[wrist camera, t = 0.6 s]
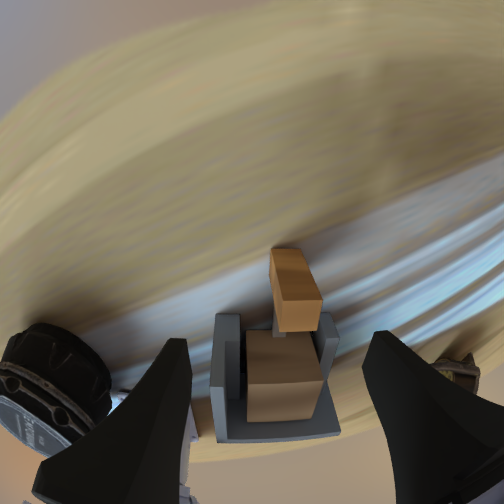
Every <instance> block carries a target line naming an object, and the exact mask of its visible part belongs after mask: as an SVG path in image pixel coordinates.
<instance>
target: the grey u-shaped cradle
mask: <svg viewBox="0 0 504 504" xmlns="http://www.w3.org/2000/svg"><path fill="white" fill-rule="evenodd" d="M339 339H340V337H339V334H338V332H337V330H336V327H335V325H334V322H333V320H332V318H331V315H330V313H320V317H319V322H318V327H317V331H314V332H313V337H312V341H313V345H314V348H315V351H316V355H317V358H318V362H319V365H320V368H321V372H322V375H323V379H324V382H323V385H322V388H321V391H320V394H319V397H318V400H317V403H316V406H315V409H314V412H313V415H312V418H311V419H303V420H291V421H275V422H247V411H246V385H245V374H240V314H216V316H215V327H214V337H213V349H212V360H211V372H210V385H209V388H210V396H211V404H212V411H213V418H214V425H215V432H216V439H217V443H270V442H286V441H298V440H308V439H316V438H324V437H331V436H338V435H339V434H340V433H341V429H340V425H339V422H338V418H337V415H336V411H335V408H334V404H333V401H332V397H331V394H330V390H329V387H328V383H327V379H328V375H329V372H330V369H331V366H332V363H333V359H334V356H335V353H336V349H337V346H338V342H339Z"/></svg>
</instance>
